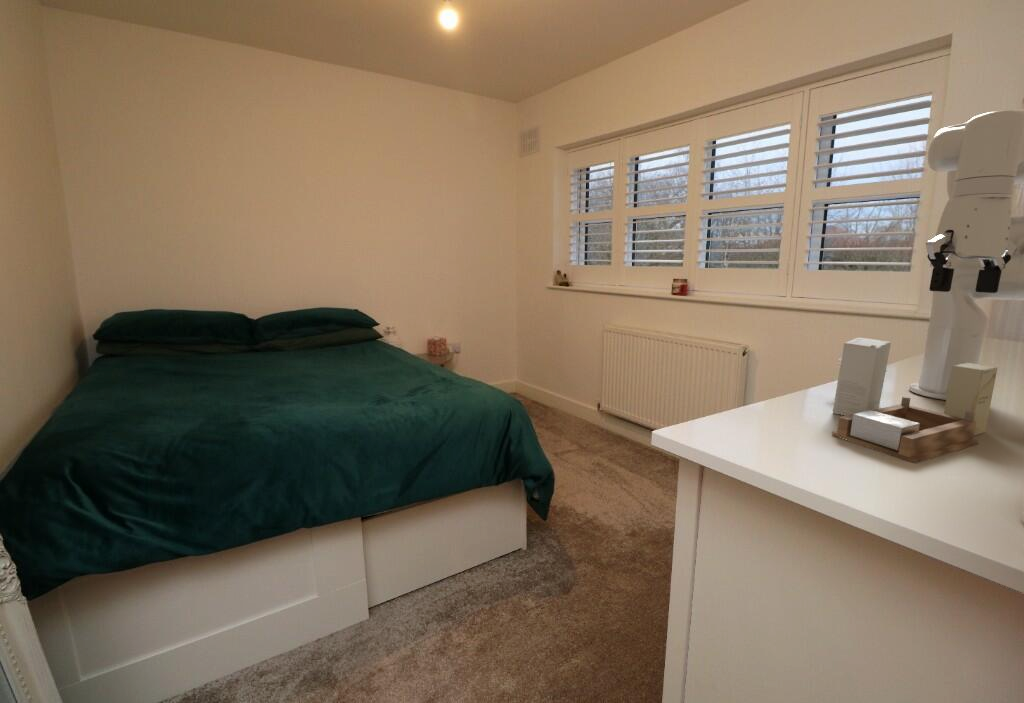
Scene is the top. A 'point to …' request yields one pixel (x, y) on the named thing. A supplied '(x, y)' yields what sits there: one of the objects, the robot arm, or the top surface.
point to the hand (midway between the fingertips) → (962, 291)
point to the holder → (920, 432)
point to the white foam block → (881, 428)
